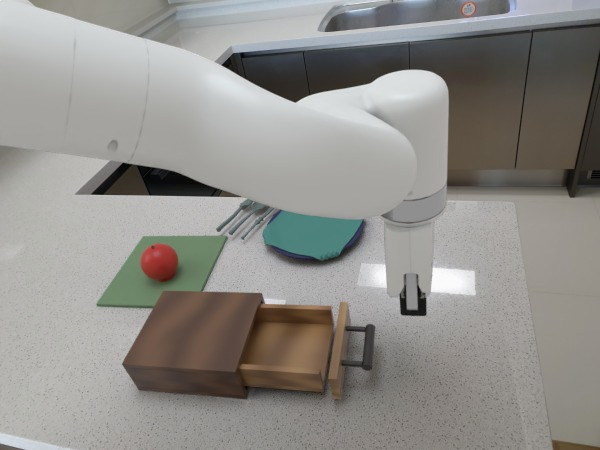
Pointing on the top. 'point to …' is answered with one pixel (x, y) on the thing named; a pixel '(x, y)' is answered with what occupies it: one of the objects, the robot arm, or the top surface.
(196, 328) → the cabinet
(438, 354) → the top surface
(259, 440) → the top surface
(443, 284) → the top surface
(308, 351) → the drawer
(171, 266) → the apple
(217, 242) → the mat
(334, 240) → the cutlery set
